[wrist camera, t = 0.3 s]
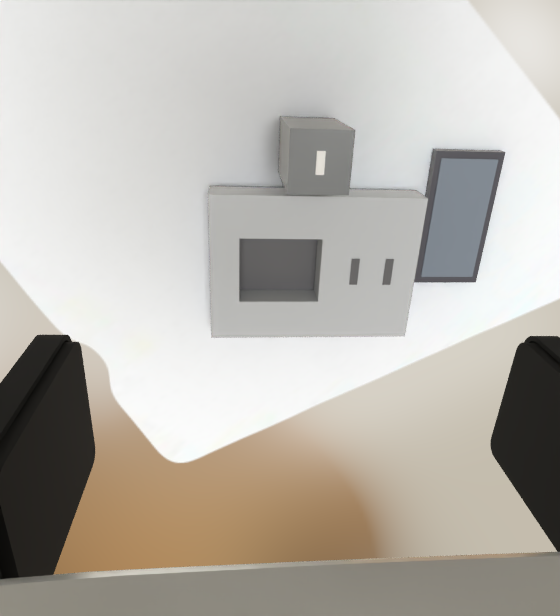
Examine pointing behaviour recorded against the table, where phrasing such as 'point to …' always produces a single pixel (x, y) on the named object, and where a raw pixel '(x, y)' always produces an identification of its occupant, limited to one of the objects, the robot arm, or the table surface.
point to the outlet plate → (312, 261)
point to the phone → (457, 213)
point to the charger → (315, 155)
